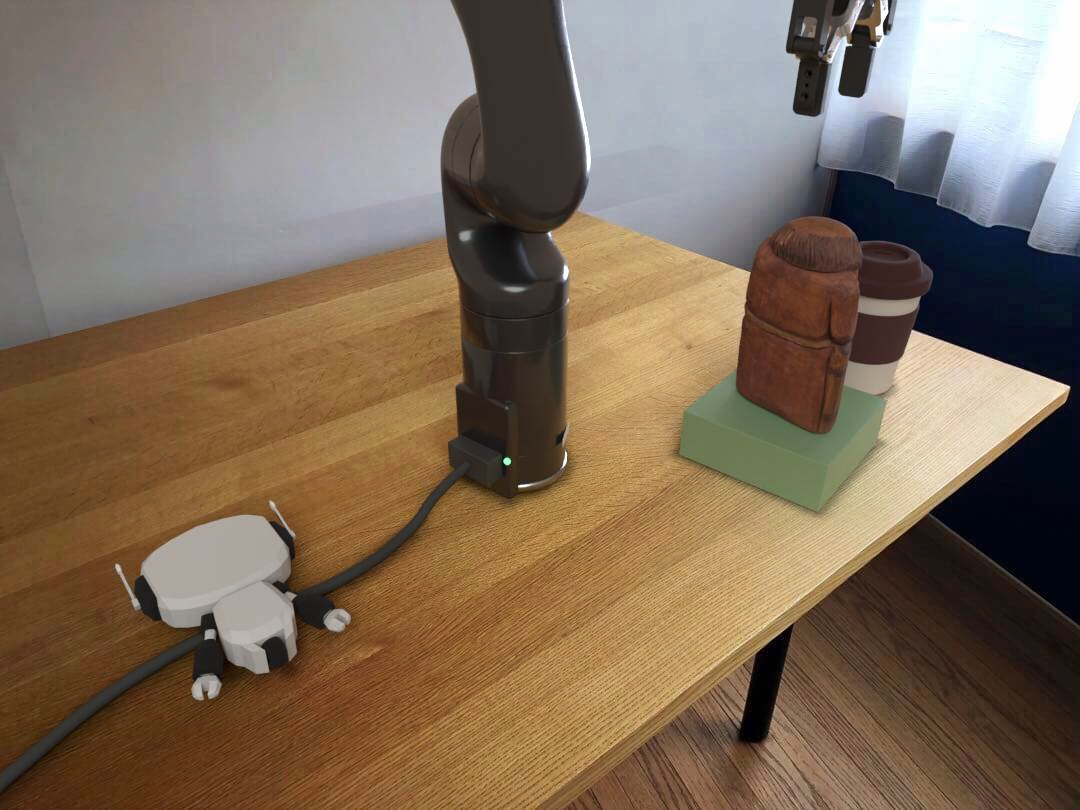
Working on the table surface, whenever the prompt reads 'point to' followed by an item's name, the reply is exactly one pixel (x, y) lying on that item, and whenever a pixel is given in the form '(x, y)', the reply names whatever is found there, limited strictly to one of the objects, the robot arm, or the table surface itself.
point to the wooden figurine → (800, 321)
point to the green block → (780, 443)
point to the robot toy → (231, 595)
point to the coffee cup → (884, 313)
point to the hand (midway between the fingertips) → (830, 105)
